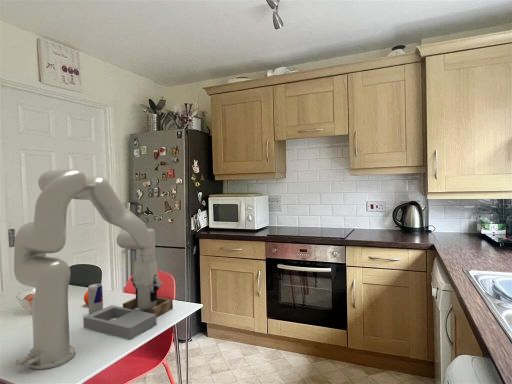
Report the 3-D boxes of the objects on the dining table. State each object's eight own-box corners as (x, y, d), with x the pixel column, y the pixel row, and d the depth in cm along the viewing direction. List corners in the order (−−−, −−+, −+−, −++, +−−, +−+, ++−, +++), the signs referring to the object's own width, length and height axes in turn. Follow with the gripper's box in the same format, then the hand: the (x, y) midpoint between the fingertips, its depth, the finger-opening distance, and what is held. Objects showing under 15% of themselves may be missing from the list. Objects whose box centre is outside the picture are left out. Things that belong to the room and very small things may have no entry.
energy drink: (105, 313, 137) (104, 285, 137) (91, 317, 134) (90, 288, 133) (100, 310, 141) (99, 282, 141) (86, 314, 137) (85, 285, 137)
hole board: (130, 339, 114) (129, 328, 114) (83, 327, 124) (83, 317, 124) (156, 324, 126) (156, 314, 126) (111, 314, 136) (111, 305, 136)
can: (152, 310, 135) (152, 281, 135) (134, 310, 135) (134, 281, 135) (158, 304, 143) (158, 276, 143) (141, 303, 143) (141, 276, 143)
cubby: (152, 319, 131) (152, 309, 131) (122, 312, 138) (122, 303, 138) (172, 308, 142) (172, 299, 141) (144, 303, 149) (143, 294, 148)
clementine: (84, 302, 150) (83, 287, 150) (101, 300, 153) (100, 285, 153) (83, 308, 143) (82, 292, 143) (101, 306, 146) (100, 290, 146)
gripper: (123, 257, 139) (124, 299, 139) (155, 261, 131) (156, 305, 132) (137, 254, 146) (137, 294, 146) (168, 257, 138) (168, 299, 138)
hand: (146, 299), depth 139 cm, fingers closed on can, 7 cm apart
